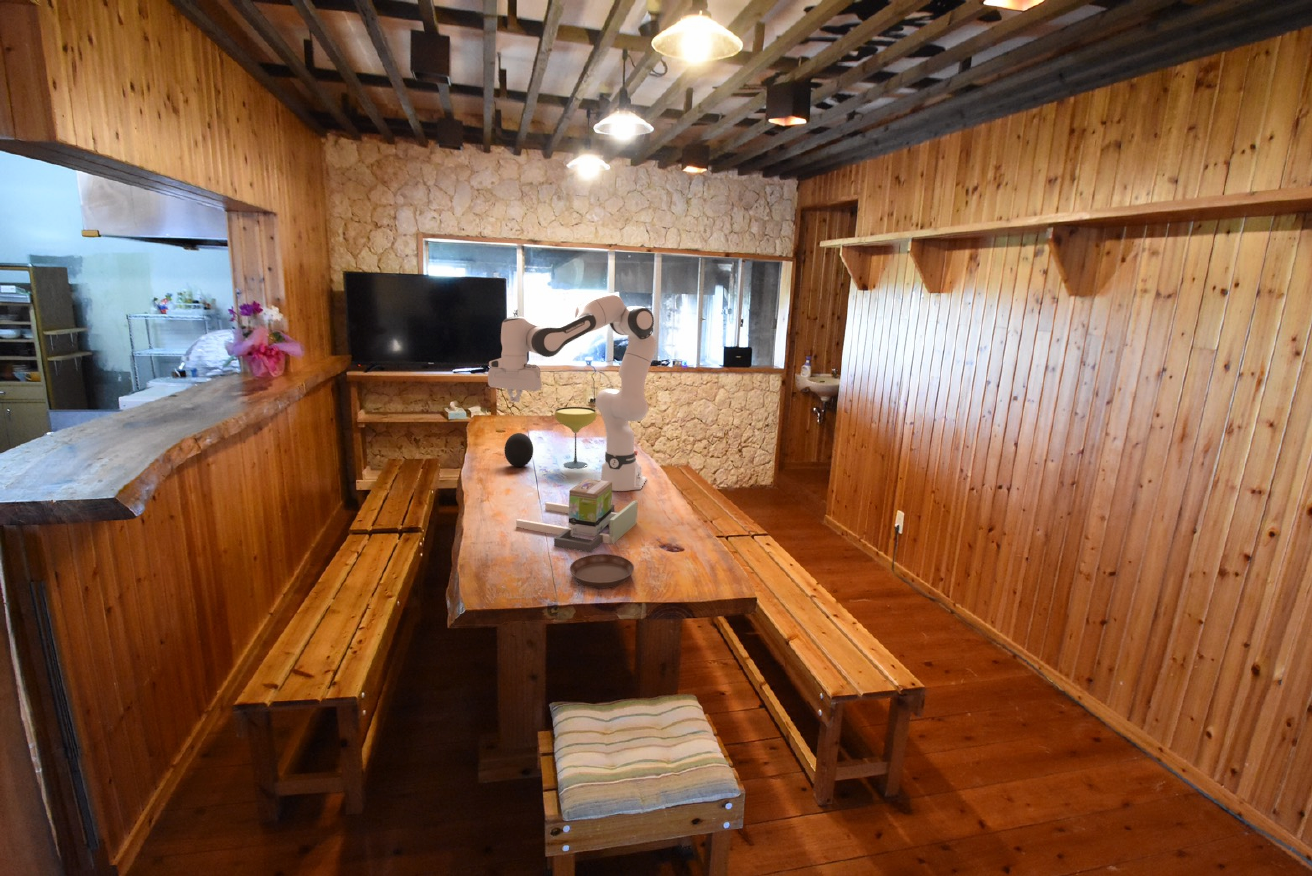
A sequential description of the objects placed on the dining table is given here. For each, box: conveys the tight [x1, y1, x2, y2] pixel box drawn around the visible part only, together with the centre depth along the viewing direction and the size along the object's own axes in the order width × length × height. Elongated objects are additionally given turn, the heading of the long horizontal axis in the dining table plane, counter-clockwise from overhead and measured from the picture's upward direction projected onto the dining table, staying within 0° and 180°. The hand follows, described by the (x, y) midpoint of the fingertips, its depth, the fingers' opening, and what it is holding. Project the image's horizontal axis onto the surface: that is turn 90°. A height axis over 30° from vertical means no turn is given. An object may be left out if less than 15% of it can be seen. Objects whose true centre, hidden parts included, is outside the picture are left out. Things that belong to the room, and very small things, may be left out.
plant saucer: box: [569, 553, 635, 589], centre depth 176 cm, size 18×18×3 cm
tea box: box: [567, 478, 613, 537], centre depth 211 cm, size 15×10×15 cm
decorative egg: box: [504, 432, 534, 468], centre depth 279 cm, size 12×12×15 cm
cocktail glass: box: [554, 406, 597, 469], centre depth 283 cm, size 18×18×25 cm
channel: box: [515, 500, 638, 545], centre depth 213 cm, size 20×35×8 cm, turn 70°
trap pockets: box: [553, 504, 616, 553], centre depth 212 cm, size 36×20×2 cm, turn 160°
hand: (515, 401), depth 229 cm, fingers closed
